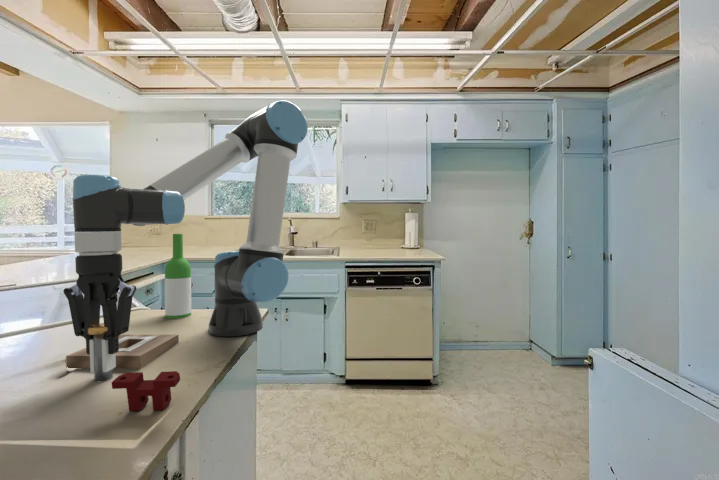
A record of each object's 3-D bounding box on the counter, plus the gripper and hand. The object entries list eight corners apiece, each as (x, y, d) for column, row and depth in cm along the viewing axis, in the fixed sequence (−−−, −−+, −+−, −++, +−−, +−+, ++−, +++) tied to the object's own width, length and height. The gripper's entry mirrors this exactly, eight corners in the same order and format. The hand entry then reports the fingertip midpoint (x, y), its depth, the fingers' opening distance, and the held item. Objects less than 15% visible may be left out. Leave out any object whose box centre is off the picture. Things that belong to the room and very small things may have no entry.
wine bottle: (175, 327, 111) (175, 233, 111) (159, 325, 114) (158, 233, 114) (196, 322, 118) (195, 233, 118) (180, 320, 121) (180, 233, 121)
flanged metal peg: (122, 375, 73) (120, 322, 73) (107, 384, 68) (105, 328, 68) (100, 375, 73) (98, 322, 73) (83, 385, 68) (81, 328, 68)
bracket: (121, 372, 60) (181, 371, 61) (125, 402, 61) (184, 400, 62) (111, 382, 57) (174, 380, 58) (115, 413, 58) (177, 411, 59)
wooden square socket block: (178, 347, 91) (178, 333, 91) (140, 371, 75) (140, 354, 75) (117, 348, 91) (117, 333, 91) (66, 372, 75) (66, 355, 75)
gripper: (147, 251, 74) (150, 361, 75) (77, 252, 74) (81, 363, 74) (123, 254, 66) (127, 376, 67) (45, 255, 66) (50, 378, 67)
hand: (103, 369), depth 71 cm, fingers closed on flanged metal peg, 2 cm apart
